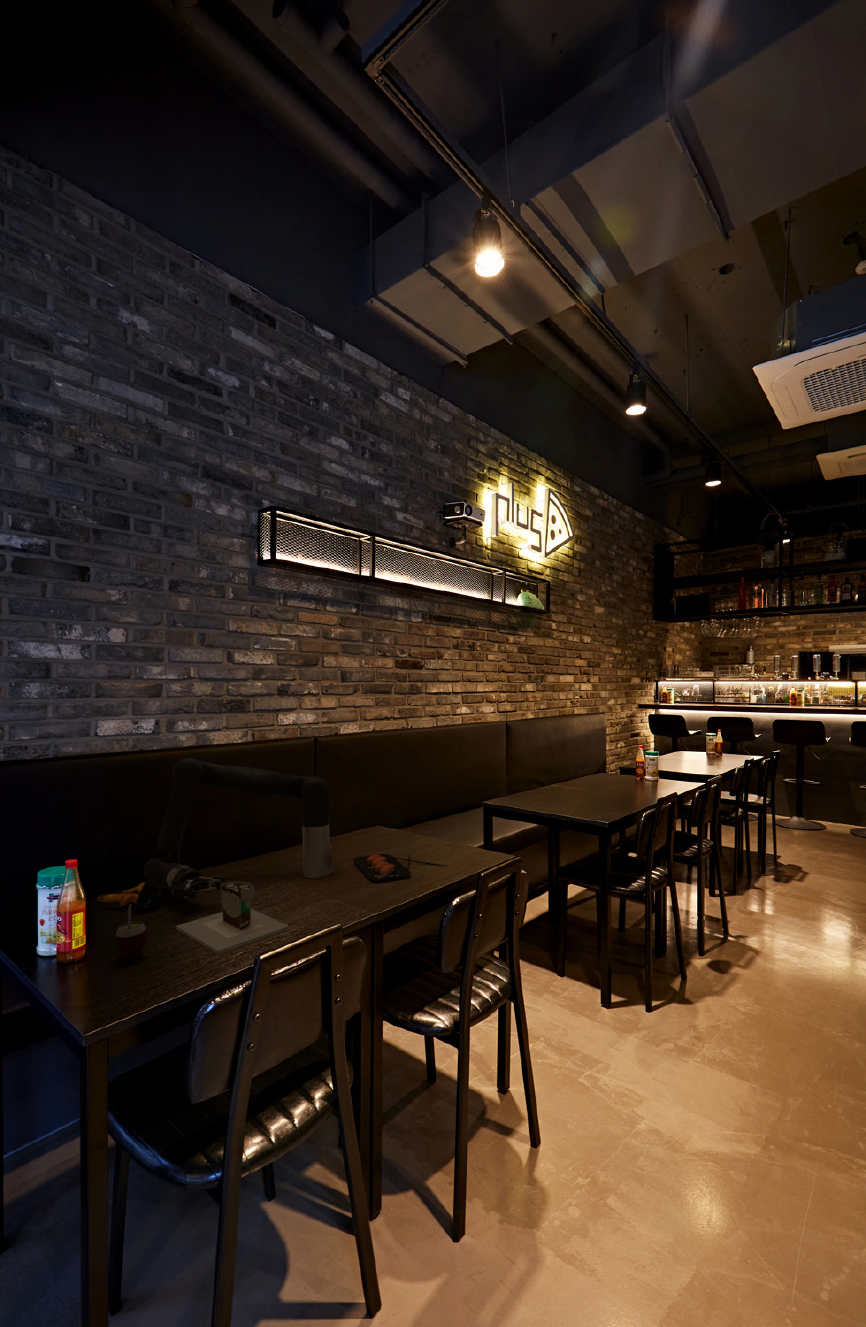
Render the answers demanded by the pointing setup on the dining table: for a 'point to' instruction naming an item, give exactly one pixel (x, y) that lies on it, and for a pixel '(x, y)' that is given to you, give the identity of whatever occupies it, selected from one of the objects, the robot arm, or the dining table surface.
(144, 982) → the dining table surface
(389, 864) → the sushi plate
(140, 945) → the mate gourd
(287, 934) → the dining table surface
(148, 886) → the fried shrimp in bowl
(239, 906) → the food container
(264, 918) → the dock
